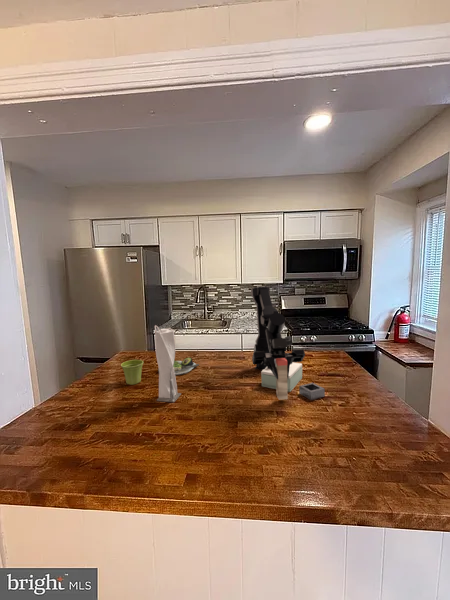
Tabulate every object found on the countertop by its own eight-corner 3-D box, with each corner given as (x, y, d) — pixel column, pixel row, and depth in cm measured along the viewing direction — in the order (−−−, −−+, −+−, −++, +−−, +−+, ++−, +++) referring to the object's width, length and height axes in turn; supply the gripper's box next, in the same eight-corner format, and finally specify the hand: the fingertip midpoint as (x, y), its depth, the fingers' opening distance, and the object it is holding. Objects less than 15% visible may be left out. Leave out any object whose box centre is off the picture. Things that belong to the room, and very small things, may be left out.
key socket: (299, 393, 109) (299, 385, 108) (312, 390, 111) (312, 382, 111) (311, 400, 103) (310, 392, 102) (324, 396, 105) (324, 388, 105)
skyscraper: (153, 400, 107) (148, 327, 104) (162, 391, 115) (158, 323, 112) (174, 402, 105) (169, 327, 102) (182, 392, 113) (178, 323, 110)
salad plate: (183, 380, 127) (183, 370, 126) (149, 376, 133) (149, 366, 133) (202, 365, 145) (201, 357, 145) (171, 363, 151) (171, 354, 151)
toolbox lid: (261, 373, 116) (261, 365, 116) (275, 362, 130) (275, 354, 129) (290, 378, 110) (289, 369, 109) (302, 365, 123) (302, 358, 123)
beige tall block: (276, 395, 104) (275, 358, 103) (285, 395, 104) (284, 357, 103) (278, 399, 101) (277, 361, 99) (287, 399, 101) (287, 360, 100)
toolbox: (261, 386, 117) (261, 374, 116) (276, 373, 130) (275, 362, 130) (290, 391, 110) (290, 379, 110) (302, 377, 124) (302, 366, 123)
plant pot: (145, 384, 123) (144, 364, 122) (122, 388, 120) (121, 368, 119) (143, 376, 132) (142, 358, 131) (121, 380, 129) (120, 361, 128)
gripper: (252, 329, 103) (258, 370, 94) (303, 327, 104) (314, 366, 95) (250, 345, 112) (255, 383, 102) (296, 342, 113) (306, 380, 103)
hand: (282, 378), depth 100 cm, fingers closed on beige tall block, 3 cm apart
